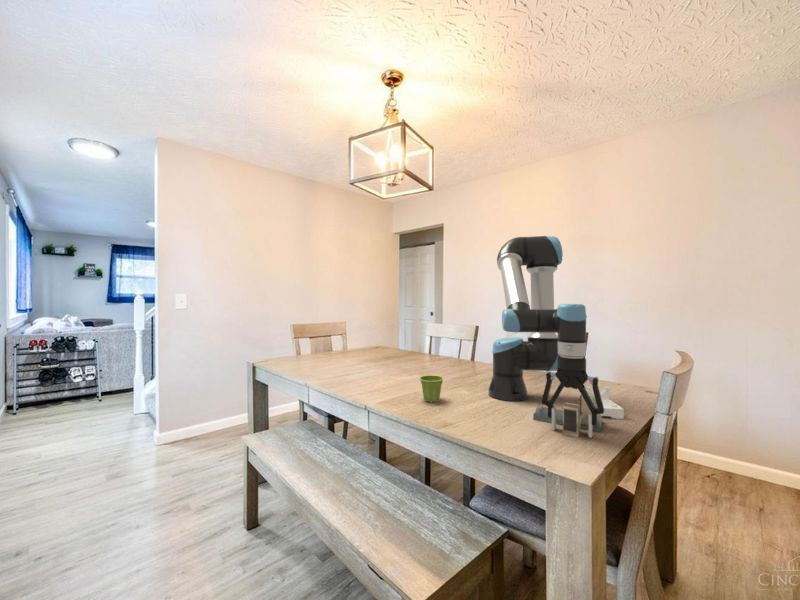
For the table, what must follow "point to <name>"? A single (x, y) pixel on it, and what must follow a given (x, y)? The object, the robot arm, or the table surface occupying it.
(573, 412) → the wooden block
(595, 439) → the table surface
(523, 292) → the robot arm
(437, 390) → the plant pot
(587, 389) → the bracket
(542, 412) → the grey base stand
